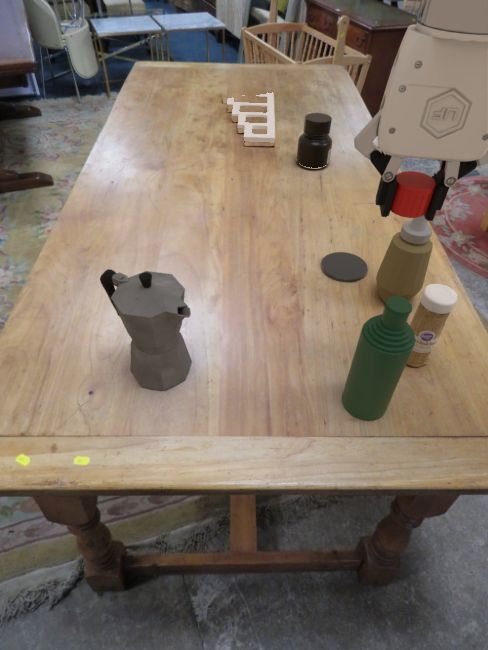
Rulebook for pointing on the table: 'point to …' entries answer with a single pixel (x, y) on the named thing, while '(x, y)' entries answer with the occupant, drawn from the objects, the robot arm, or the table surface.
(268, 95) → the holder
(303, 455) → the table surface
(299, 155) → the ink bottle
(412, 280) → the squeeze bottle
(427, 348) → the sprinkles bottle
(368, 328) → the bottle
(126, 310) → the coffeepot
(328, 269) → the coaster
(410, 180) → the cap
